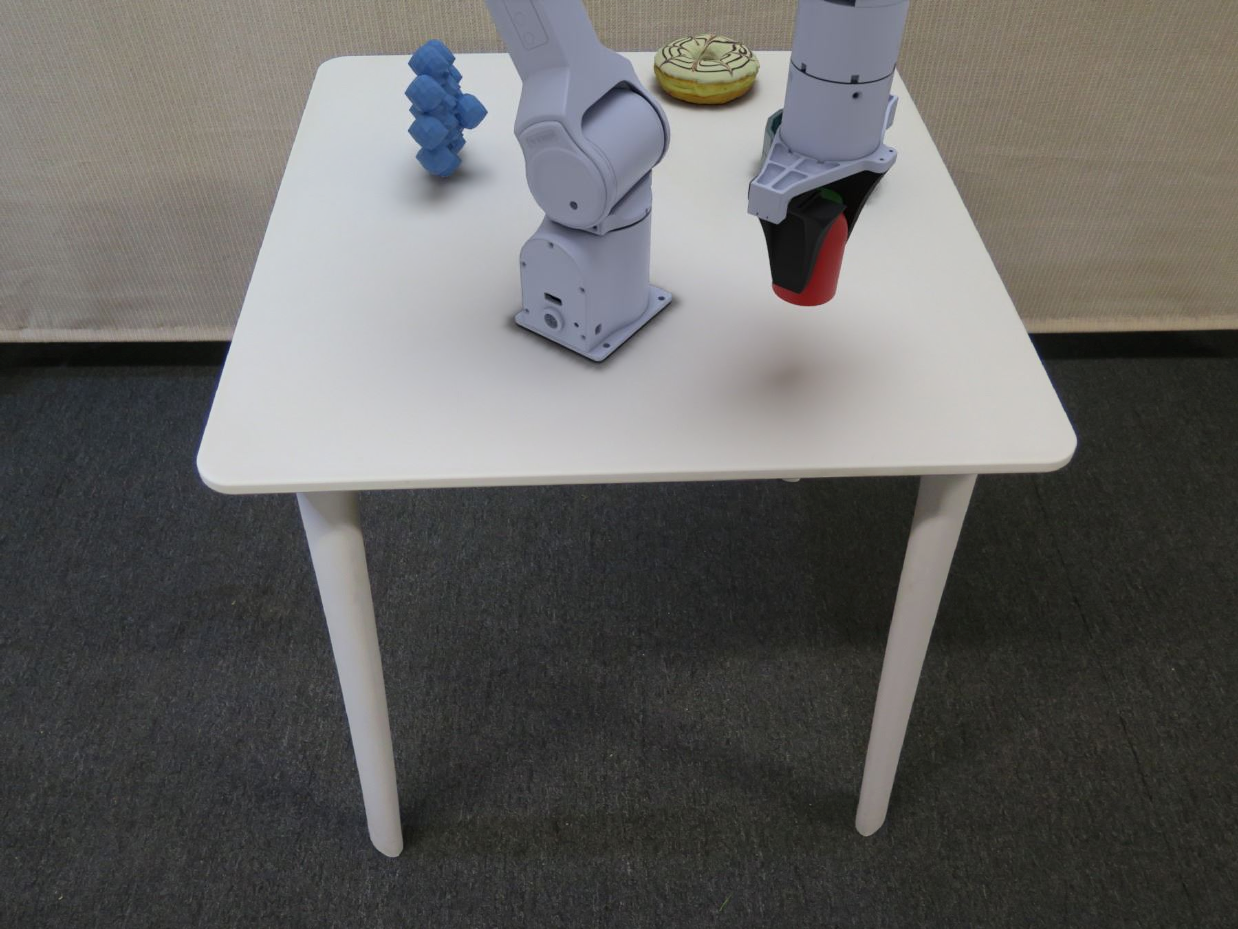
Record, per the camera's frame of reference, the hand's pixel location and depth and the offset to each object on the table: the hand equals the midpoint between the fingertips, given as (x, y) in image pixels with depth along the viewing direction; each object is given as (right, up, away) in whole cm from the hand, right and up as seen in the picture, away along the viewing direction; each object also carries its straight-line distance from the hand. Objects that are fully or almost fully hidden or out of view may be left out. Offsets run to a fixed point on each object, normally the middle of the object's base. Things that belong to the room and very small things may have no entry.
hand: (806, 269), depth 64 cm
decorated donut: (-3, +26, +37) cm, 45 cm away
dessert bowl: (+6, +13, +25) cm, 28 cm away
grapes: (-27, +13, +24) cm, 38 cm away
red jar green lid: (0, -1, +1) cm, 1 cm away
